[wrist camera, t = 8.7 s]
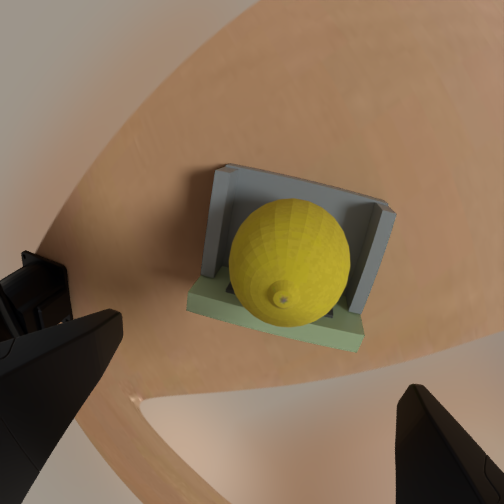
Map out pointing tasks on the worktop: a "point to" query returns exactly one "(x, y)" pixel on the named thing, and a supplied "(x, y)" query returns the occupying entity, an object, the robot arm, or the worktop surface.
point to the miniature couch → (285, 187)
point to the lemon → (289, 262)
